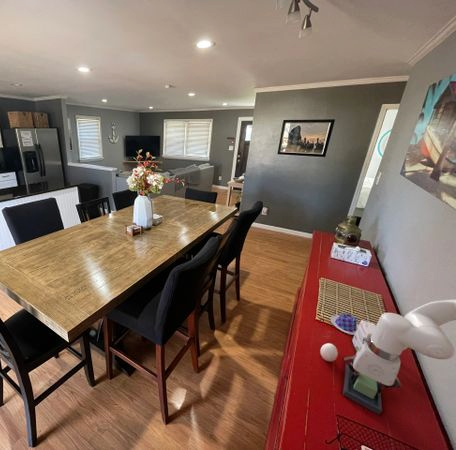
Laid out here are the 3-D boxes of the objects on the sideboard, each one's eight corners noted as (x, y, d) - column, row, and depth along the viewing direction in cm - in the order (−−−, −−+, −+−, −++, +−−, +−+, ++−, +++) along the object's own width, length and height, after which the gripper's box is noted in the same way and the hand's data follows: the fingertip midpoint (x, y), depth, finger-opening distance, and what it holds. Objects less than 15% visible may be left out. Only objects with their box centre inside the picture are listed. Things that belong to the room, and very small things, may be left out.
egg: (317, 351, 99) (322, 337, 96) (332, 356, 97) (338, 342, 94) (319, 362, 94) (325, 348, 91) (335, 367, 92) (342, 353, 89)
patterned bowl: (341, 314, 119) (344, 305, 117) (367, 332, 109) (372, 323, 107) (324, 319, 115) (327, 311, 113) (350, 339, 105) (354, 330, 103)
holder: (377, 374, 90) (379, 371, 89) (379, 414, 77) (382, 410, 76) (345, 359, 95) (347, 356, 94) (343, 394, 82) (345, 390, 82)
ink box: (372, 360, 95) (384, 338, 91) (357, 355, 97) (368, 334, 92) (365, 344, 103) (375, 323, 98) (351, 340, 104) (360, 319, 100)
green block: (372, 384, 84) (376, 376, 83) (372, 399, 80) (377, 391, 78) (354, 375, 87) (357, 367, 86) (353, 389, 83) (357, 381, 81)
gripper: (349, 341, 79) (333, 379, 86) (423, 373, 69) (397, 412, 76) (350, 328, 84) (334, 364, 91) (418, 356, 74) (395, 394, 81)
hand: (363, 385), depth 83 cm, fingers closed on green block, 5 cm apart
